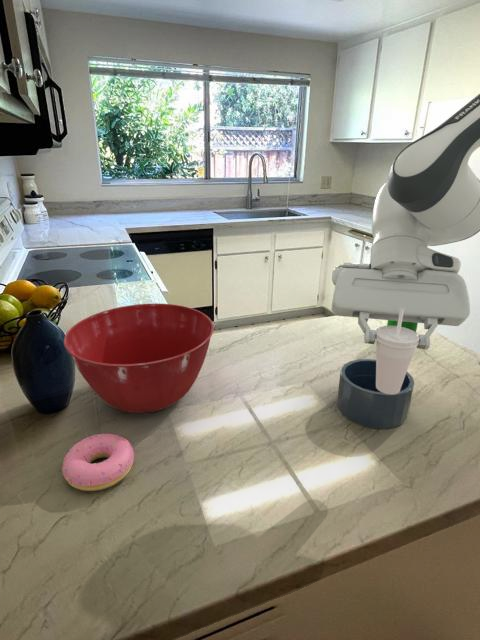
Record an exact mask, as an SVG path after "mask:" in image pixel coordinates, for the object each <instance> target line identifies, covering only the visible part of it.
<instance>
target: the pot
mask: <svg viewBox="0 0 480 640" xmlns="http://www.w3.org/2000/svg"><path fill="white" fill-rule="evenodd" d="M414 387H415V380H414V377H413V376H412V375H411V373H409V372H408V371H407V372H406V375H405V378H404V381H403V384H402V386H401V389H400V392H399V393H397V394H385V393H382V392H380V391H379V390H378V389H377V388H376V359H372V358H359V359H353V360H350V361H348V362H346V363H344V364H343V365H342V366H341V368H340V372H339V382H338V387H337V388H338V389H337V396H336V397H337V399H336V405H337V409H338V411H339V412H340V413H341V414H342V416H344V417H345V419H348V420H349V421H351V422H353V423H354V424H357V425H359V426H363V427H365V428H370V429H377V430H389V429H394V428H397V427H400V426H401V425H404V423H405V422H406V421H407V420H408V416H409V412H410V407H411V403H412V402H411V401H412V395H413V393H414V392H413V391H414Z"/></svg>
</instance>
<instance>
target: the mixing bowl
mask: <svg viewBox="0 0 480 640" xmlns="http://www.w3.org/2000/svg"><path fill="white" fill-rule="evenodd" d="M214 330H215V326H214V323H213V320H212V319H211V318H210V317H209V316H208V315H207V314H205V313H204V312H202V311H200V310H198V309H195V308H192V307H188V306H184V305H179V304H172V303H153V302H152V303H151V302H150V303H138V304H131V305H124V306H118V307H113V308H110V309H105V310H103V311H100V312H97V313H95V314H92V315H89V316H87V317H86V318H83V319H82V320H80V321H78V322H76V323H75V324H74V325H73V326H71V328H69V330H68V331H67V332H66V333H65V335H64V339H63V347H64V349H65V350H66V351H67V353H69V355H70V357H71V359H72V360H73V363H74V365H75V366H76V368H77V370H78V372H79V373H80V374H81V377H83V379H84V380H85V382H86V383H87V384H88V386H89V387H90V388H91V389H92V390H93V392H94V393H95V394H96V395H97V396H98V397H99V398H100V399H101V400H102V401H103V402H104V403H106V405H108V406H110V407H112V408H113V409H117V410H120V411H123V412H127V413H134V412H135V413H134V414H147V413H146V412H149V413H154V412H158V411H161V410H164V409H167V408H168V407H170V406H172V405H174V404H176V403H177V402H179V401H181V399H183V398H184V397H185V396H186V395H187V394H188V393H189V392H190V390H191V389H192V387H193V385H194V383H195V382H196V380H197V378H198V376H199V374H200V372H201V370H202V367H203V365H204V362H205V359H206V358H207V357H206V356H207V353H208V349H209V347H210V343H211V337H212V336H213V334H214V332H215V331H214ZM157 410H158V411H157ZM153 411H154V412H153Z"/></svg>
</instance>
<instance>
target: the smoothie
mask: <svg viewBox="0 0 480 640" xmlns="http://www.w3.org/2000/svg"><path fill="white" fill-rule="evenodd" d="M403 313H404V308H400V313H399V318H398V324H397V326H387V325H383V326H380V327H378V328H377V329H376V335H375V337H376V340H375V341H376V346H375V347H376V350H375V351H376V353H375V356H376V357H375V360H376V388H377V389H378V390H379V391H380V392H382V393H385V394H397V393H399V392H400V389H401V386H402V384H403V381H404V378H405V375H406V372H408V369H409V366H410V363H411V361H412V358H413V354H414V352H415V349H416V348H417V345H418V344H419V338H420V337H419V335H420V334H418V333H417V331H416V332H414V331H412V330H410V329H408V328H404V327H401V324H402V319H403Z"/></svg>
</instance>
